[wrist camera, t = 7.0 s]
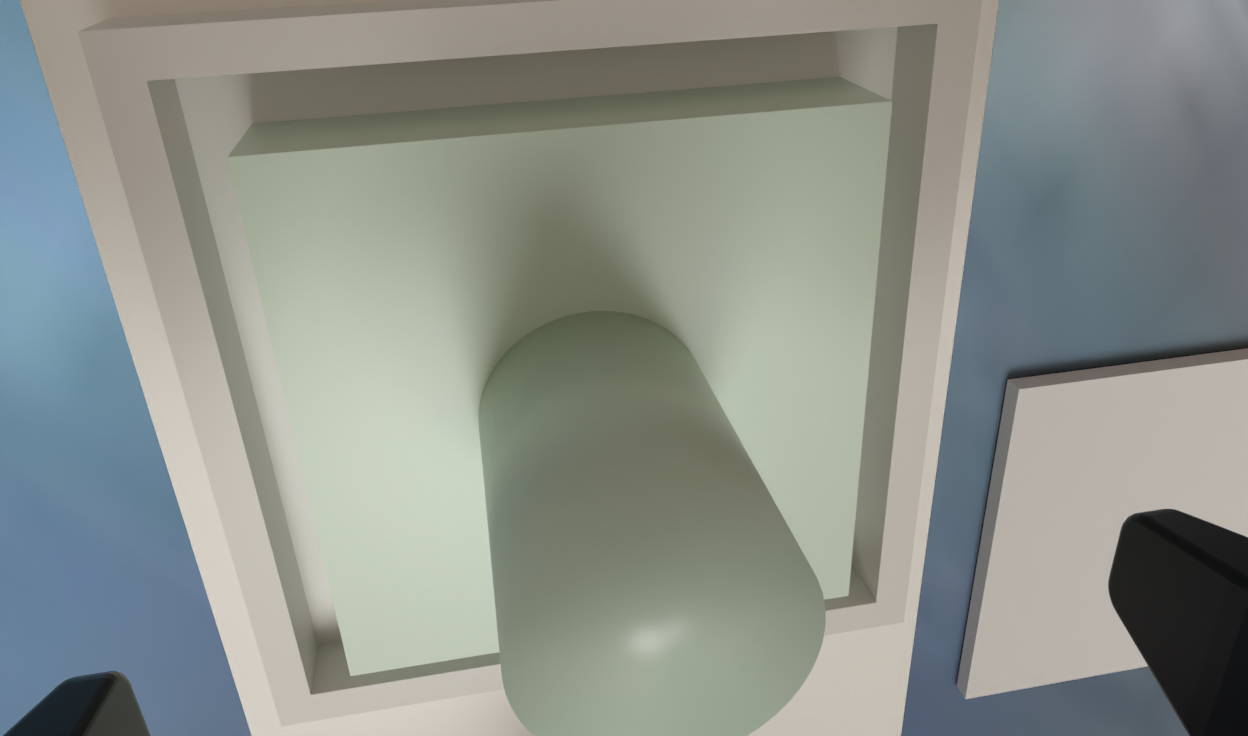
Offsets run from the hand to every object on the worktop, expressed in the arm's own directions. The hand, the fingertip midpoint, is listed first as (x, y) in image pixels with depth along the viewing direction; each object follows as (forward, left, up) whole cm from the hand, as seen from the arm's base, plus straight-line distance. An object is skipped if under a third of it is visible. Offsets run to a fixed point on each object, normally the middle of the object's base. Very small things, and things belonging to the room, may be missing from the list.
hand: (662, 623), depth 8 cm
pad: (-7, -12, -8) cm, 16 cm away
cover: (0, 0, -5) cm, 5 cm away
